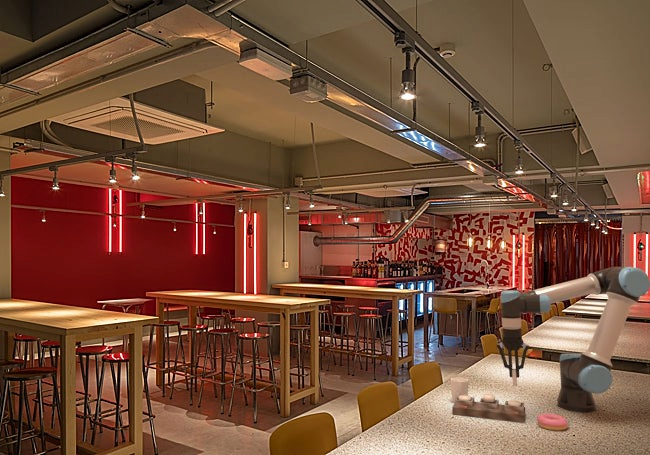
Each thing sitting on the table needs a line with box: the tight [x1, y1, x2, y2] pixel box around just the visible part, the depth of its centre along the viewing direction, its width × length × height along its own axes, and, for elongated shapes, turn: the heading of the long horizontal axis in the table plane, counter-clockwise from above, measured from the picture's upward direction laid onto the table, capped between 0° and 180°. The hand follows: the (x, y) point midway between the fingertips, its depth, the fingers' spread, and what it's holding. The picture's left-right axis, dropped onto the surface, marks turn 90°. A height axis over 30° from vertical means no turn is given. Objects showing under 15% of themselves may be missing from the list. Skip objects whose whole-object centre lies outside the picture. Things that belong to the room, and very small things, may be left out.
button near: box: [507, 399, 521, 407], centre depth 200 cm, size 5×5×2 cm
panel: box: [451, 396, 527, 424], centre depth 203 cm, size 28×12×5 cm, turn 66°
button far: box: [459, 395, 472, 401], centre depth 208 cm, size 5×5×2 cm
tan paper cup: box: [450, 376, 469, 403], centre depth 222 cm, size 8×8×10 cm
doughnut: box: [536, 413, 569, 431], centre depth 188 cm, size 11×11×4 cm
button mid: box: [482, 393, 496, 402], centre depth 205 cm, size 5×5×2 cm
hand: (515, 385), depth 201 cm, fingers closed
